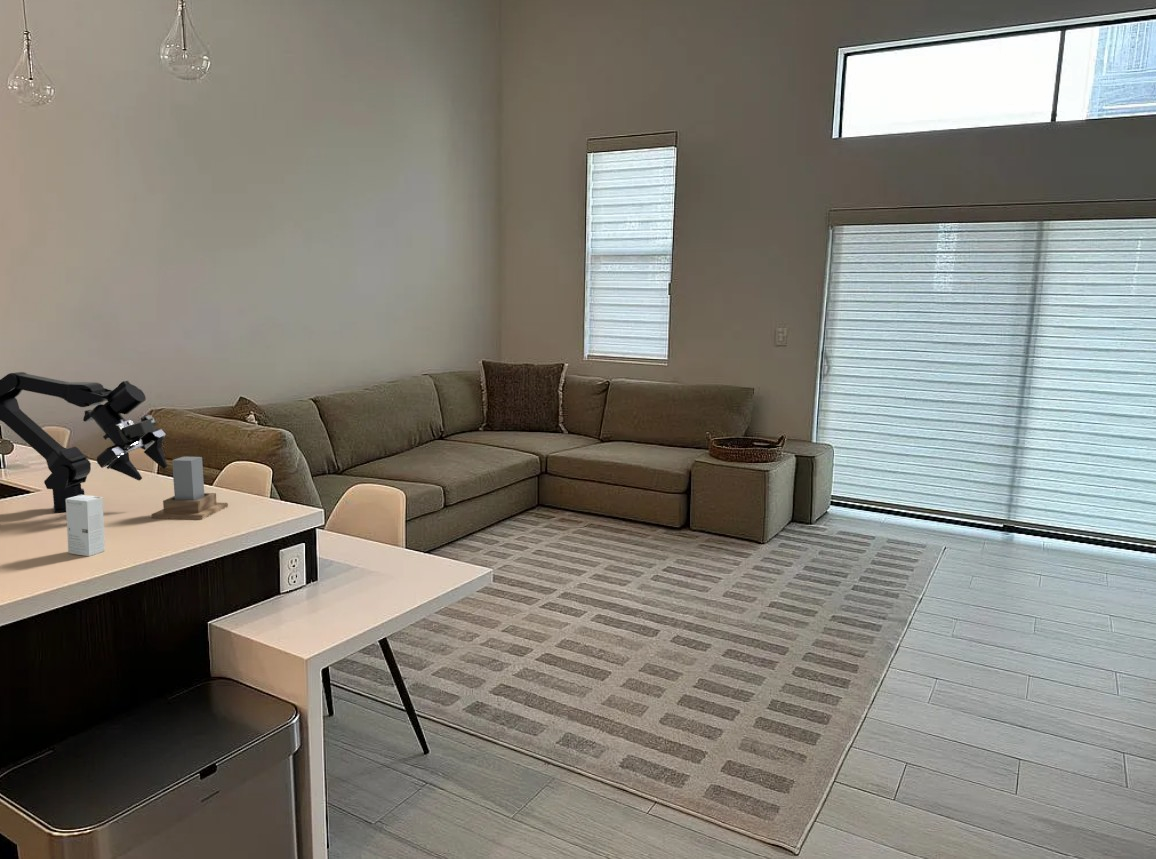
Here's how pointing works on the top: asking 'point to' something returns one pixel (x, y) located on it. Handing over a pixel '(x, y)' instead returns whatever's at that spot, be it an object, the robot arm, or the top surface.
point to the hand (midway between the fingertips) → (153, 473)
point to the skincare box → (85, 525)
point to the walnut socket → (190, 507)
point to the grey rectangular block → (188, 478)
